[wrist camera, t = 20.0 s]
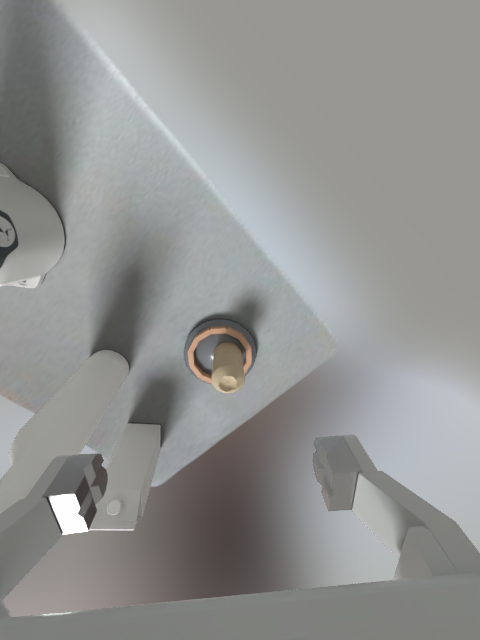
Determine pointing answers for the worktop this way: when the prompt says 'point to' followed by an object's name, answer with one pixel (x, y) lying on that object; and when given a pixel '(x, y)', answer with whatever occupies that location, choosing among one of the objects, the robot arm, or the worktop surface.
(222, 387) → the candle
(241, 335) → the tray
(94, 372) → the bottle
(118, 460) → the milk carton
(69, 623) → the robot arm
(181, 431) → the worktop surface
